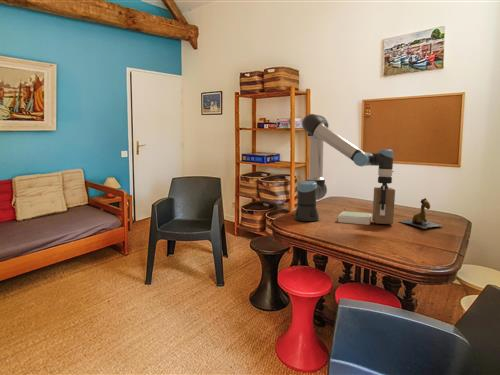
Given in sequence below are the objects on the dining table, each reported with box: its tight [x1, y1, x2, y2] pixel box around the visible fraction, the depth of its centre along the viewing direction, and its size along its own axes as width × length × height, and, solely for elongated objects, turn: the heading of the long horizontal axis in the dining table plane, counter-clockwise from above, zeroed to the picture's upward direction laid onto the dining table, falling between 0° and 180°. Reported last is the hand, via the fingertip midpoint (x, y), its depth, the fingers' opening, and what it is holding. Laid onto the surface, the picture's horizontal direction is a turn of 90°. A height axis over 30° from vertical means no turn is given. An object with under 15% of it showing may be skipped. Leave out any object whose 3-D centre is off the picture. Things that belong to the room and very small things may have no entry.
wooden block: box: [371, 186, 396, 225], centre depth 198 cm, size 10×10×20 cm
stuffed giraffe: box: [397, 197, 444, 229], centre depth 199 cm, size 16×18×16 cm
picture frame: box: [337, 210, 373, 226], centre depth 208 cm, size 18×18×4 cm
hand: (382, 213), depth 198 cm, fingers closed on wooden block, 11 cm apart
